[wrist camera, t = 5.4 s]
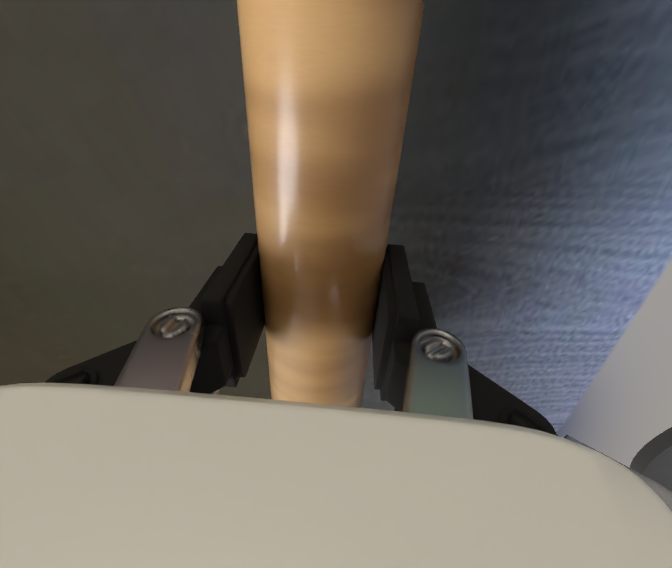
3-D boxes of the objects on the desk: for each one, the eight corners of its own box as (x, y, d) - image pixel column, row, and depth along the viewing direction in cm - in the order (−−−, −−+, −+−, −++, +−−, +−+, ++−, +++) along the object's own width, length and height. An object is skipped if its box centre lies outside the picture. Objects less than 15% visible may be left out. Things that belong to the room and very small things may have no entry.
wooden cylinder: (318, 14, 9) (194, -14, 7) (453, 11, 7) (357, -29, 5) (311, 381, 18) (257, 433, 16) (371, 421, 16) (322, 488, 14)
